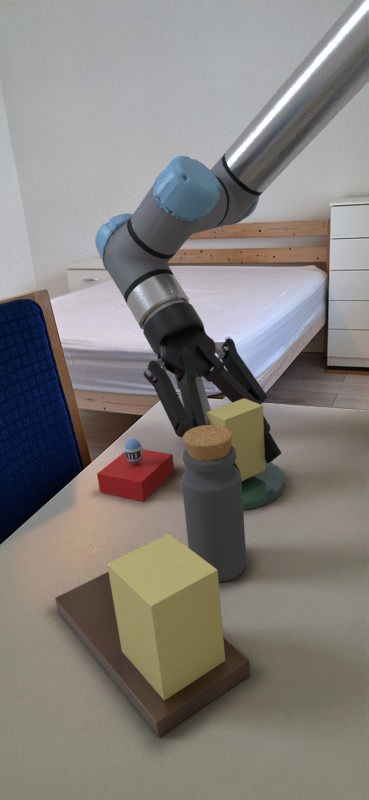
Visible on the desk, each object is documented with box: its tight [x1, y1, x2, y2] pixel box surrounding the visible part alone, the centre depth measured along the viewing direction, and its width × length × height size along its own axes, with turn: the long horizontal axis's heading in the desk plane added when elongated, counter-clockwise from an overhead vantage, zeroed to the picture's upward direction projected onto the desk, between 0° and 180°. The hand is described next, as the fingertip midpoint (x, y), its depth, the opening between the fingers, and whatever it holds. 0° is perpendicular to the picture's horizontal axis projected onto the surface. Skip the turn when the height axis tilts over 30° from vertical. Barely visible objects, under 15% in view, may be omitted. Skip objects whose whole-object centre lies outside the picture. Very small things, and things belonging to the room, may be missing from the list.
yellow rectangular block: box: [207, 398, 265, 481], centre depth 74 cm, size 6×4×9 cm, turn 126°
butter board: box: [54, 571, 251, 738], centre depth 53 cm, size 9×18×2 cm, turn 36°
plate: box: [241, 461, 286, 511], centre depth 77 cm, size 12×12×1 cm
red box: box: [96, 438, 175, 502], centre depth 79 cm, size 8×7×6 cm
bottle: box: [181, 425, 247, 583], centre depth 60 cm, size 6×6×15 cm
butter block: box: [107, 533, 225, 700], centre depth 48 cm, size 6×6×9 cm
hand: (254, 467), depth 73 cm, fingers closed on yellow rectangular block, 6 cm apart
